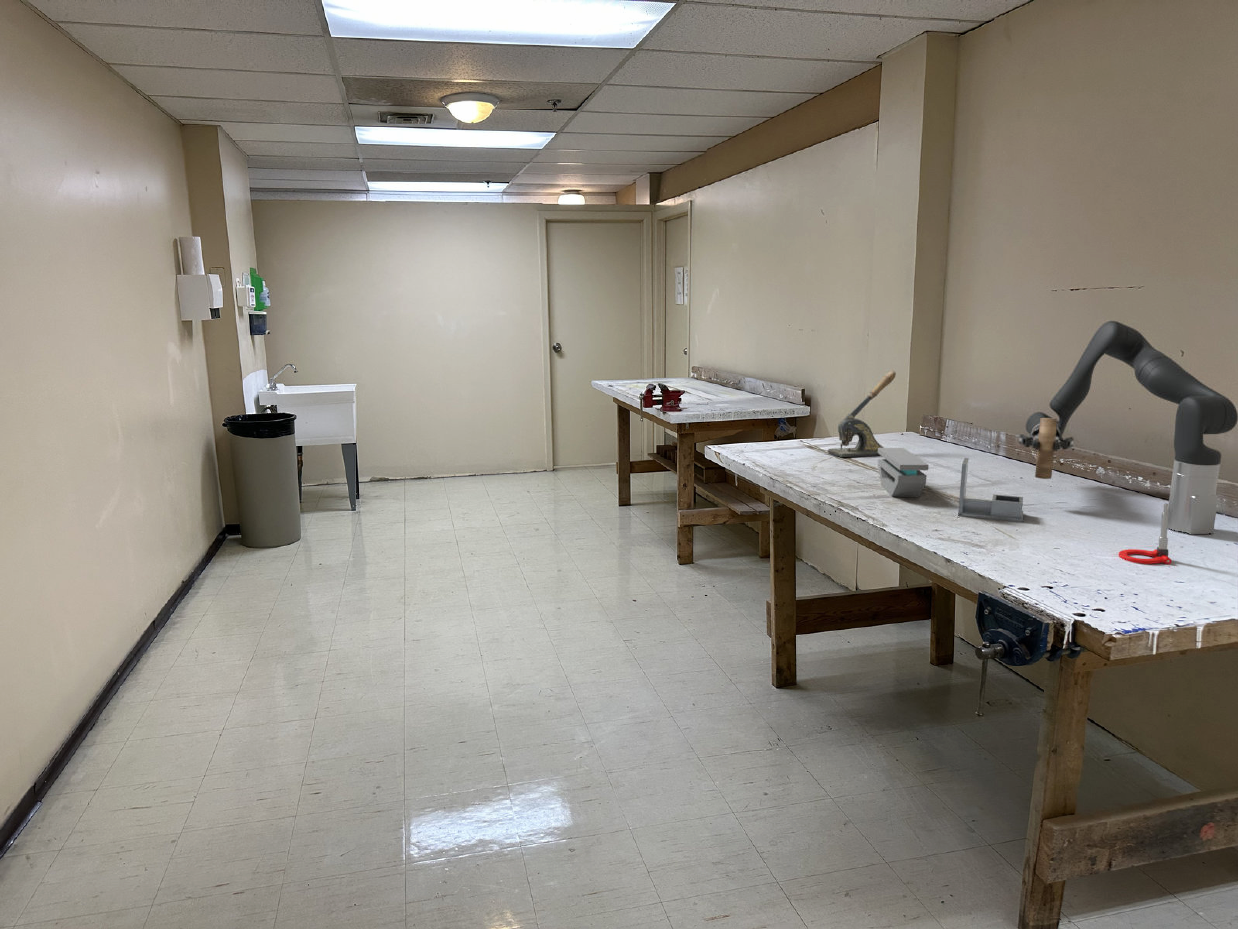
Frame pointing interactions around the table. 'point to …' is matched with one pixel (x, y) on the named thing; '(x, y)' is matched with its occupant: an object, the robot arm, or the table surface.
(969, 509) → the bracket
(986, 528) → the table surface
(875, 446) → the embossing press
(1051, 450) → the tan wooden cylinder
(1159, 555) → the tow hook
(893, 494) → the grey lidded box
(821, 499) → the table surface
